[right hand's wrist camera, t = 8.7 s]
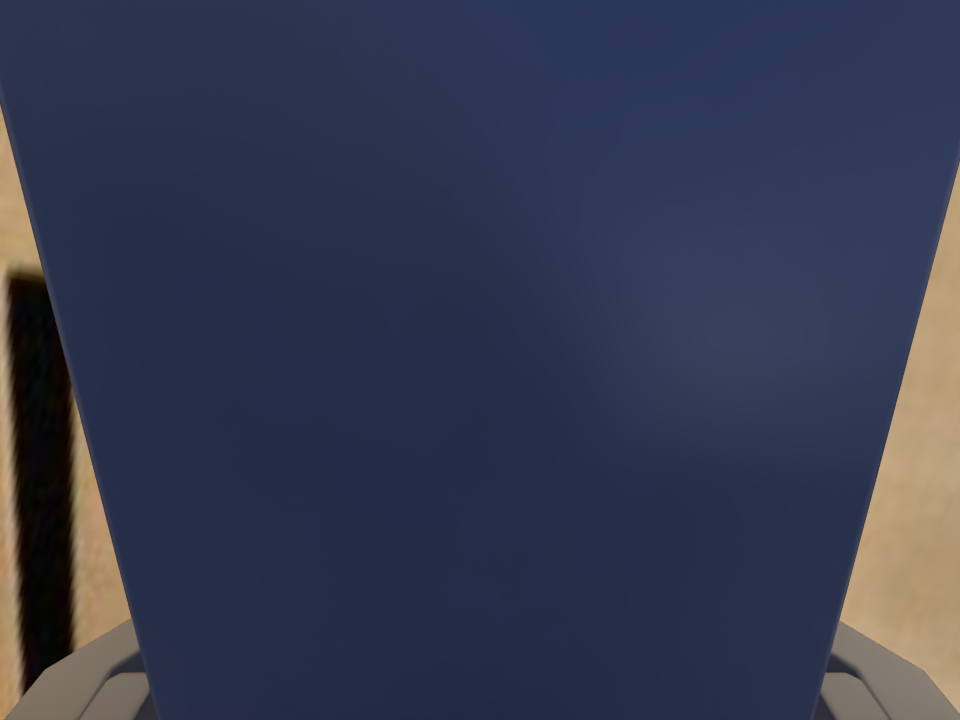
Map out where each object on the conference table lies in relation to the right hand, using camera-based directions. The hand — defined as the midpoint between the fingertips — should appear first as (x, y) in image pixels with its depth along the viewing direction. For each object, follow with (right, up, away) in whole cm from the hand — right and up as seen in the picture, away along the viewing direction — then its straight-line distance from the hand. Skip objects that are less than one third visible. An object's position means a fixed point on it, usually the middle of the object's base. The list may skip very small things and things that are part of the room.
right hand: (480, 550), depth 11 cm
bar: (0, +9, 0) cm, 9 cm away
